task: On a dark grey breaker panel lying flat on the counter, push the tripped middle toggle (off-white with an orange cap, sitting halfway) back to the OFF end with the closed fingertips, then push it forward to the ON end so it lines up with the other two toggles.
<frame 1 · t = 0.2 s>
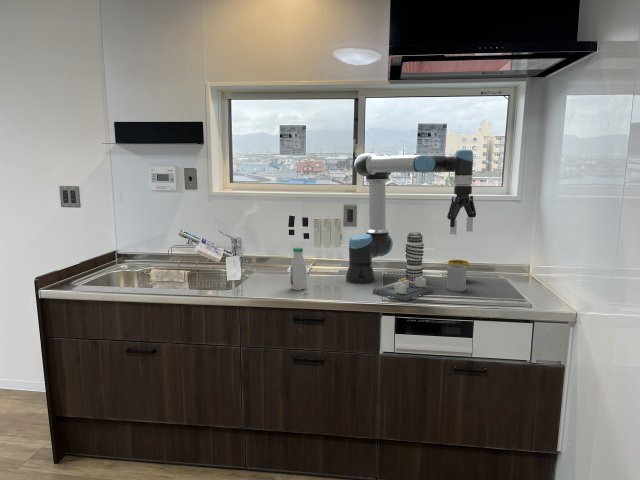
hand: (461, 232, 201), 28 cm above the countertop, fingers open, 13 cm apart
milk bottle: (298, 289, 215), on the countertop
panel: (403, 292, 206), on the countertop
mug: (455, 288, 212), on the countertop
decorative candle: (414, 281, 226), on the countertop
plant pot: (457, 280, 227), on the countertop
breaker left: (400, 287, 197), point 4 cm above the countertop, slide at 8.0 cm
breaker right: (420, 281, 208), point 4 cm above the countertop, slide at 8.0 cm
breaker mid: (403, 283, 205), point 4 cm above the countertop, slide at 4.0 cm
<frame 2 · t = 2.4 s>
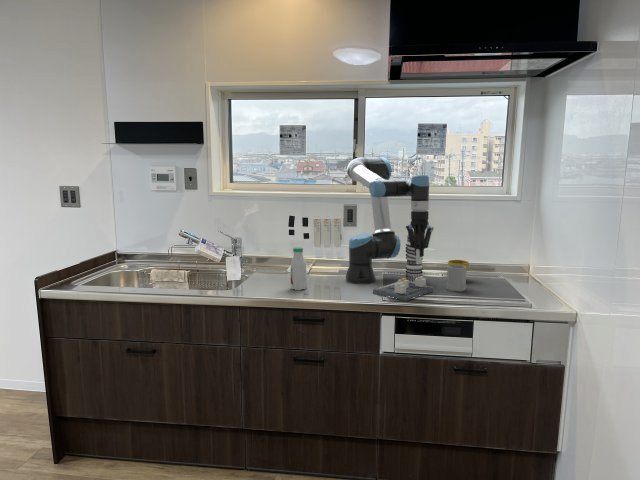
hand: (419, 263, 198), 15 cm above the countertop, fingers closed
nothing on the countertop moved.
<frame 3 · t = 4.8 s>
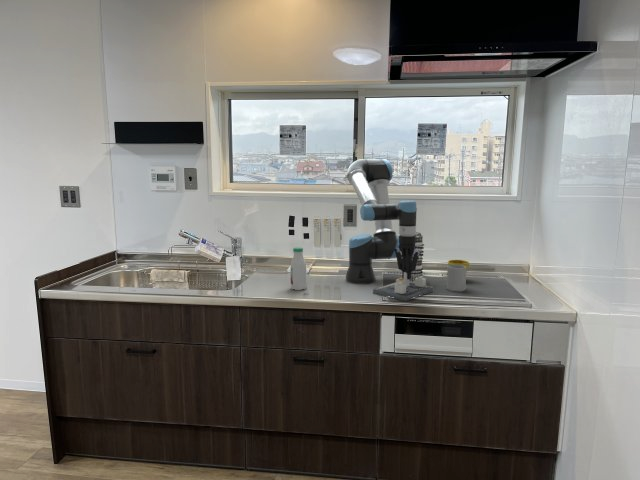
hand: (406, 285, 204), 3 cm above the countertop, fingers closed
breaker mid: (401, 282, 206), point 4 cm above the countertop, slide at 2.8 cm, touching gripper
everything else where it was.
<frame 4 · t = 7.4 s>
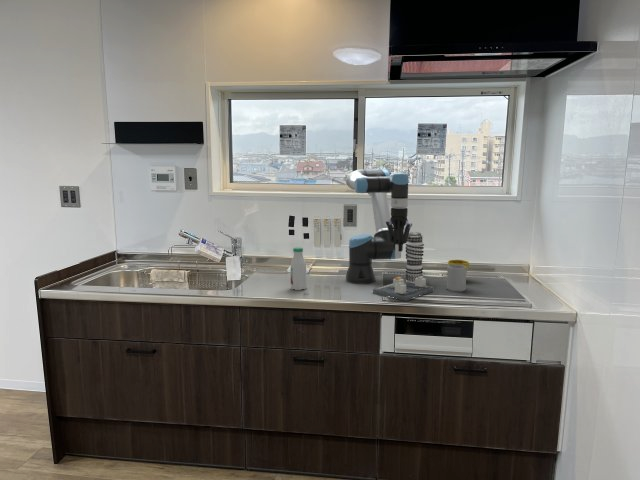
hand: (398, 257, 207), 16 cm above the countertop, fingers closed
breaker mid: (398, 282, 207), point 4 cm above the countertop, slide at 1.3 cm
everything else where it was.
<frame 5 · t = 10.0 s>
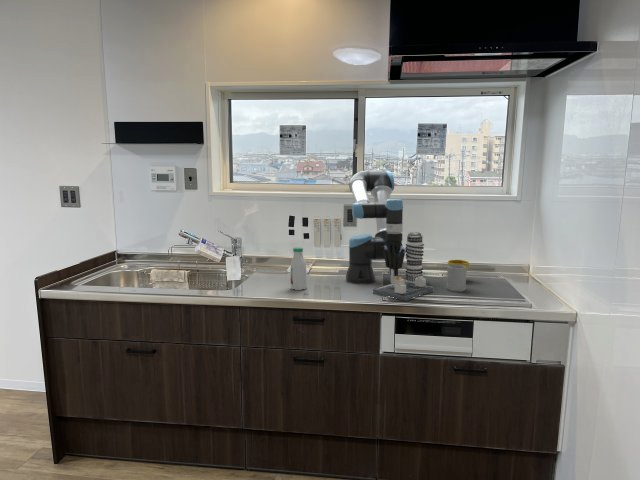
hand: (393, 282, 209), 4 cm above the countertop, fingers closed
breaker mid: (399, 282, 207), point 4 cm above the countertop, slide at 1.6 cm, touching gripper
everything else where it was.
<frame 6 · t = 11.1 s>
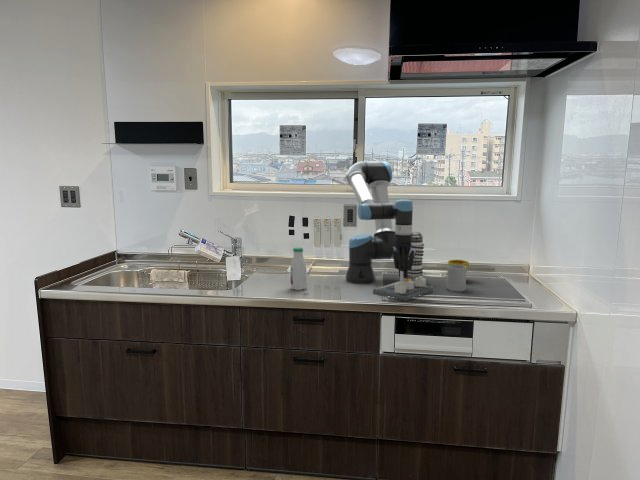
hand: (402, 284, 205), 4 cm above the countertop, fingers closed
breaker mid: (408, 283, 203), point 4 cm above the countertop, slide at 6.6 cm
everything else where it was.
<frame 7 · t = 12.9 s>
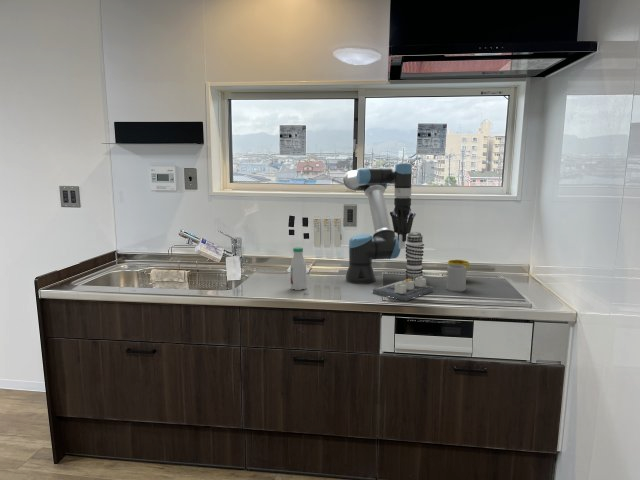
hand: (401, 248, 207), 20 cm above the countertop, fingers closed
nothing on the countertop moved.
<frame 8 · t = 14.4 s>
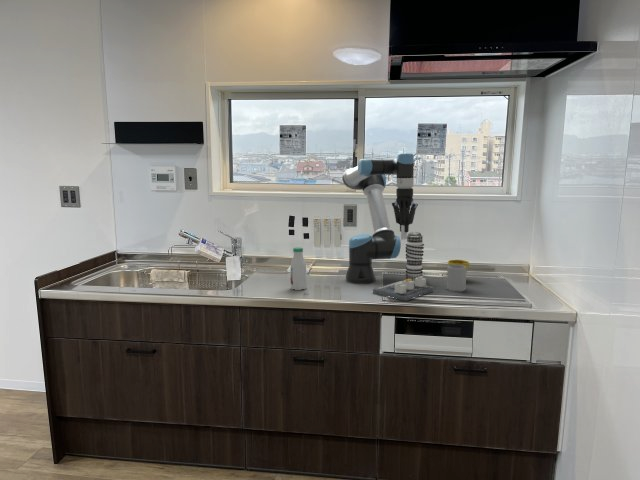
hand: (404, 239, 206), 24 cm above the countertop, fingers closed
nothing on the countertop moved.
at the end: breaker mid slide at 6.7 cm; breaker left slide at 8.0 cm; breaker right slide at 8.0 cm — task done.
